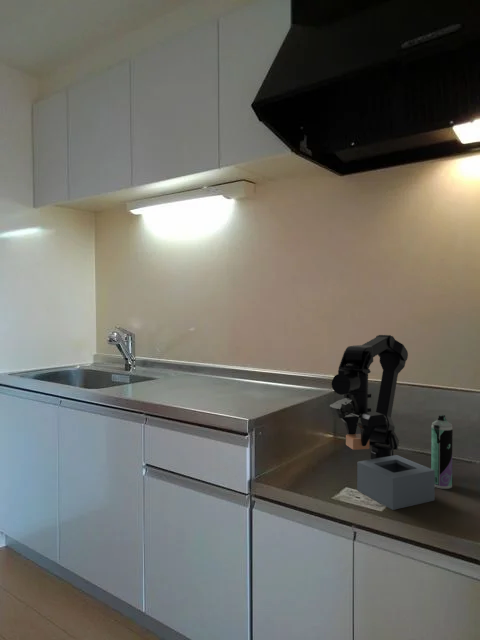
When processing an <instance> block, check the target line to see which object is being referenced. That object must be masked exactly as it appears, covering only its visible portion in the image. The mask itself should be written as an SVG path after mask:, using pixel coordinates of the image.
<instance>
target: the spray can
mask: <svg viewBox="0 0 480 640" xmlns="http://www.w3.org/2000/svg"><path fill="white" fill-rule="evenodd" d="M453 431H454V430H453V424H452V423H451V422H449V421H448V419H446V414H445V415H444V414H442V415H438V418H436V420H435V421H432V423H431V450H430V451H431V452H430V453H431V455H430V456H431V461H430V462H431V467H430V469H433V470H435V488H438V489H442V490H448V489H452V488H453V437H454V436H453V435H454V434H453Z"/></svg>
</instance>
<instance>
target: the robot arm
mask: <svg viewBox="0 0 480 640" xmlns="http://www.w3.org/2000/svg"><path fill="white" fill-rule="evenodd" d="M376 356H378V357H379V364H380V366H381V368H382V375H381V379H380V380H381V381H380V386H379V392H378V397H377V402H376V403H377V404H376V408H375V411H372V407H369V399H370V398H372V393H369V374H370V373H371V372H372V371H371V369H370V367H371V365H372V364H373V362H374V358H375V357H376ZM408 358H409V353H408V350H407V348H406V347H405V345H404V344H403V343H401V342H400V341H398V340H396V338H395V337H394V336H393V335H390V334H378V335H376V337H374V338H372V339H370V340H369V341H366V342H365V343H363V344H359V345H349V346H347V347H346V348H345V350H344V352H343V354H342V357H341V360H340V362H339V366H338V371H337V374H335V375H334V376H333V378H332V380H331V387H332V390H333V392H334V393H336V394H337V395H341V396H342V395H343V398H341V399H339V400H337V401H334V402H333V403H331V404H329V409H330V412H331V415H332V417H336V418H337V419H340V420H341V421H342V422H343V423H344V426H345V429H346V433H347V435H349V434H357V428H358V427H359V428H360V429H359V430H360V434H361V443H362V446H366V444H367V442H368V440H369V447H371V451H370V459H376V458H382V457H388V456H394V455H395V454H394V450H399V449H398V448H399V444H400V439H399V438H398V436H397V434H396V432H395V425H394V422H393V420H392V411H393V407H394V401H395V395H396V388H397V382H398V377H399V373H401V372H402V370H403V369H404V368H405V367H406V363H407V360H408ZM359 419H360V422H359Z"/></svg>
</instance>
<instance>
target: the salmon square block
mask: <svg viewBox="0 0 480 640" xmlns="http://www.w3.org/2000/svg"><path fill="white" fill-rule="evenodd" d="M345 445H346V446H347V447H349V448H350V449H352V450H353V451H355V450H369V449H370V446H369V440H368V442H367V444H366V446H362V443H361V433H356V434H349V435H348V434H345Z"/></svg>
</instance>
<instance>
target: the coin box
mask: <svg viewBox="0 0 480 640" xmlns="http://www.w3.org/2000/svg"><path fill="white" fill-rule="evenodd" d="M356 463H357V464H356V466H357V471H356V473H357V474H356V475H357V476H356V477H357V479H356V481H357V484H356V490H357V491H358V492H359V493H362V494H364V495H365V496H367V497H369V498H370V499H372V500H373V501H376V502H377V503H379V504H381V505H383V506H385V507H386V508H388V509H390V510H391V511H395V510H398V509H403V508H408V507H412V506H416V505H420V504H426V503H429V502H430V503H431V502H434V501H435V498H436V497H435V489H436V487H435V470H433V469H431V467H428V466H426V465H424V464H423V465H422V464H420V463H418V462H415V461H413V460H410V459H407V458H405V457H403V456H400V455H398V454H394V456H388V457H382V458H376V459H371V458H370V459H365V460H364V459H363V460H360V461H357V462H356Z"/></svg>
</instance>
